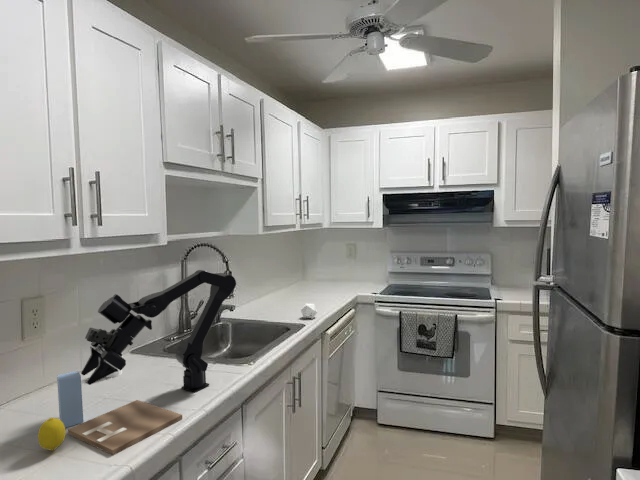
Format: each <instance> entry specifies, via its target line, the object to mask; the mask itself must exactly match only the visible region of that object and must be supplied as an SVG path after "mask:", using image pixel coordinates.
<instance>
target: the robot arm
mask: <svg viewBox="0 0 640 480" xmlns="http://www.w3.org/2000/svg"><path fill="white" fill-rule="evenodd" d="M203 284H208V285H210V291H209V297H208V300H207V301H206V303H205V305H204V307H203V310H202V312H201V314H200V316H199V317H198V320H197V322H196V323H195V326H194V327H193V330H192V331H191V334H190V336H189V337H187V339H184V338H182V339H180V341H179V344H178V347H177V348H176V349H175V351H176V353H175V358H176V361H177V362H178V363H180V365H182V367H183V368H185V370H183V380H182V381H183V385H182V386H181V387H180V388H181V390H185V391H189V392H192V393H195V392H198V391H200V390H203V389H204V388H207V387H209V386H210V383H208V382H207V377H206V376H207V375H206V374H207V373H206V372H207V370H208V366H209V363H208V362H206V361H205V360H204V359H202V355H203V351H204V342H205V339H206V338H207V335H208V334H209V331H210V329H211V327H212V325H213V323H214V321H215V319H216V318H217V315H218V313H219V311H220V309H221V307H222V304H223V303H224V301H226V300H227V299H228V298H229V297H230V296H231V294H232V293H233V292H234V290H235V288H236V286H237V279H235V277H234V276H233V275H230V274H227V273H226V274H225V273H218V274H215V273H213V272H209V271H207V270H204V269H198V270H196V271H194V273H191V274H190V275H188V276H186V277H184V278H183V279H181V280H180V281H178V282H176V283H175V284H173V285H171V286H169V287H167V288H165V289H163V290H161V291H157V292H154V293H151V294H148V295H146V296H142V297H141V298H140V299H138V301H134V302H130V303H128V302H127V301H125V300H124V299H123V298H122V297H121V296H120V295H118V294H116V293H114V295H113V296H112V297H110V298H108V299H107V300H106V301H104V302H103V303H102V304H101V305H100V307H99V308H98V310H97V313H99V315H101V316H103V318H105V319H106V320H108V321H109V322H111V323H112V324H114V325H115V324H117V323H118V324H119V326H118V327H117V328H116V329H115V328H111V330H109V331H107V330H106V329H102V328H95V327H89V328H88V331H87V333H86V335H85V337H84V339H85V340H86V341H87V342H90V345H91V346H90V347H89V348H90V349H89V350H90V355H89V357H88V359H87V362H86V363H85V364H84V367H83V369H82V370H81V373H80V375H82V376H86V375H88V374H89V373H90V372H92V373H91V375H90V377H89V378H88V379H87V381H86V384H87V385H89V386H90V385H92V384H94V383H96V382H98V381H100V380H101V379H103V378H107V377H106V376H108V375H110V374H112V373H114V372H117V371H118V369H119V370H122V371H123V369H124V368H125V367H126V365H127V363H126V361H127V360H126V359H125V358H124V353H123V352H124V351H125V350H126V349H127V348H128V347H129V346H130V347H131V346H132V345H133V344H134V342H133V340H134V339H135V338H136V337H137V336H138V335H139V334H140V333H141V331H142V330H143V329H144V328H147V329H148V330H150V331H152V329H153V325H152V322H153V321H152V319H153V318H156V317H157V316H159V315H160V314H161V313H163V312H164V311H165V310H166V309H167V308H168V307H169V305H170V304H171V303H172V302H174V301H175V300H177V299H179V298H181V297H182V296H184V295H187V293H189V292H191V291H192V290H194V289H195V288H198V287H199V286H201V285H203ZM132 312H133V313H136V314H137V315H135V314H133V313H132ZM142 315H143V316H145V317H146V318H150V319H146V318H144V317H143V316H142ZM151 318H152V319H151ZM122 353H123V354H122ZM122 355H123V357H122ZM93 370H94V371H93Z"/></svg>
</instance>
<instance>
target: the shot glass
mask: <svg viewBox="0 0 640 480" xmlns="http://www.w3.org/2000/svg"><path fill="white" fill-rule="evenodd" d="M122 354H123V355H122V357H123V358H124V353H123V352H122ZM122 374H123V369H122V370H119V369H118V371H117V372H114V373H112V374H110V375H108V376H106V377H105V378H116V377H118V376H121V375H122Z"/></svg>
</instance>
